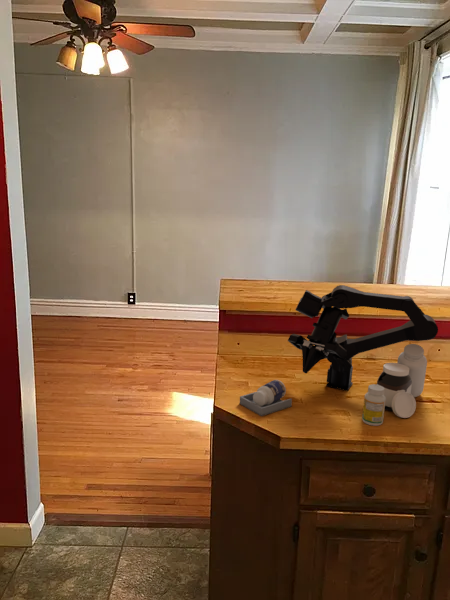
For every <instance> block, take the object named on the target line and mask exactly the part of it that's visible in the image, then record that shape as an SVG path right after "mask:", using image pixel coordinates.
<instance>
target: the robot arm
mask: <svg viewBox="0 0 450 600" xmlns="http://www.w3.org/2000/svg"><path fill="white" fill-rule="evenodd" d="M359 307H360V308H361V307H364V308H373V309H382V310H388V311H396V312H397V311H398V312H399V311H400V312H404V314H405V315H406V316H407V318H409V320H408V321H407V322H405V323H404V324H403V325H401V326H396V327H393V328H390V329H385V330H381V331H379V332H375V333H371V334H368V335H364V336H361V337H357V338H348V334H343V335H340V336H338V337H337V335H338V334H337V333H336V332H335V331H336V330H337V328H338V325H339V323H340V322H341V321H340V320H341V319H344V320H347V319H348V318H349V317H350V314H349V311H348V309H354V308H359ZM295 311H296V312H298V313H300V314H302V315H305V317H306V316H307V317H309V318H311V319H313V318H315V317H318V316H319V317H318V320H317V321H316V322H313V324H312V325H311V326H312V327H314V329H313V330H312V332H311V334H307V337H306V338H305V337H304V336H303V335H302V334H296V333H292V334H290V335H289V337H288V339H287V342H289V343H290V344H291V345H292V346H294V347H295V348H297V350H301V355H302V373H304V374H308V373H309V372H310V371H311V370H312V369H313V368H314V367H315V366H316V365H317V364H318V363H319V362H320V361H322V360H326V359H327V361H328V362H329V363H330V364H329V368H328V369H327V377H326V387H329V388H333V389H336V390H341V391H349V390H350V388H351V387H352V385H353V384H354V383H353V381H352V379H353V369H354V366H353V363H352V362H353V358H354V357H355V356H357V355H358V354H361V353H365V352H370V351H372V350H377V349H380V348H384V347H389V346H391V345H394V344H399V343H401V342H407V341H412V342H422V341H430V340H433V339H435V338H436V336H437V335H438V332H439V327H438V324H437V323H436V321H435V319H434V318H433V316H430V315H428V314H425V313H424V312H423V310H422V309H421V308H420V306H419V305H418V304H417V303H416V302H415V300H414V299H413V298H412V297H411V296H408V295H405V296H402V295H393V294H387V293H386V294H384V293H375V292H365V291H362V290H359V289H356V288H354V287H350V286H347V285H342V284H340V285H337V286H335V287H334V288H333V289H332V291H330V292H329V293H326V294H325V295H322V296H318V295H317V294H314V293H312V292H311V291H310V290H308V289H306V290H305V291H304V293H303V295H302V296H301V297H300V298H299V302H298V303H297V306H296V307H295ZM320 312H321V314H320Z"/></svg>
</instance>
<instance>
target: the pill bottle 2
mask: <svg viewBox="0 0 450 600" xmlns="http://www.w3.org/2000/svg"><path fill="white" fill-rule="evenodd" d="M396 363H399V364H403V365H405V366H407V367H409V374H408V375H409V376H410V377H411V380H412V387H411V395H413V397H414V398H416V397H419V396H420V395H422V393H423V391H424V389H425V388H424V387H425V381H426V375H427V374H426V373H427V367H428V360H427V357H426V355H425V350H424V348H423V347H422V346H421V345H419V344H418V343H417V344H416V343H409V344H406V345H405V346H404V348H403V351H402V352H401V353H400V354H399V355H398V357H397V362H396Z"/></svg>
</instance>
